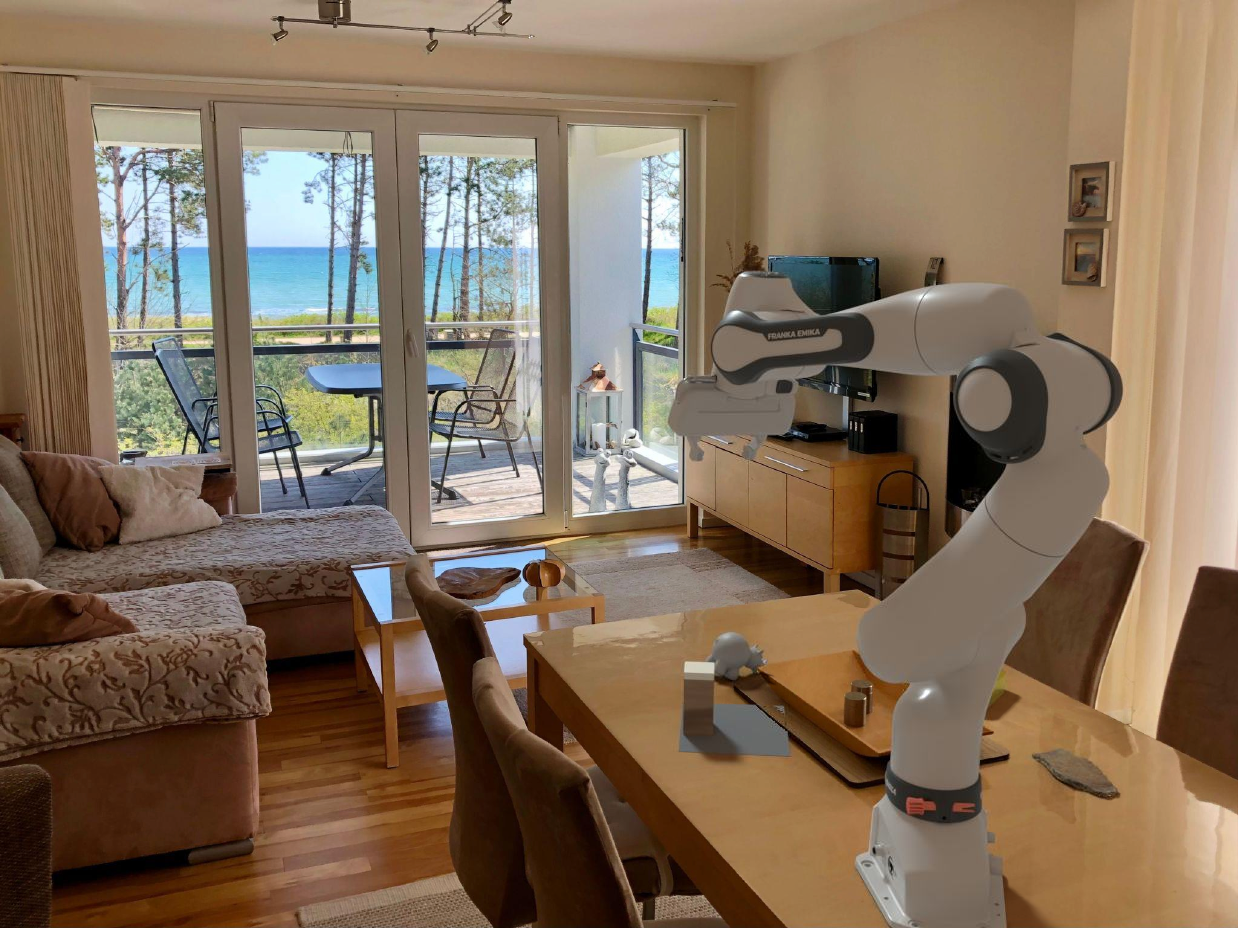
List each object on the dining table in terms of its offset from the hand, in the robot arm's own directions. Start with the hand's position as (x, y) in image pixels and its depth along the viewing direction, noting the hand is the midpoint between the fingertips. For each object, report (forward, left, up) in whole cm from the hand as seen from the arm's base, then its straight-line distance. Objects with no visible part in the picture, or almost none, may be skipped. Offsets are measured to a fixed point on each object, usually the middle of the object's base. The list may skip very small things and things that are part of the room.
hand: (721, 459), depth 170 cm
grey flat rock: (-2, -56, -49) cm, 75 cm away
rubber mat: (+9, -3, -49) cm, 49 cm away
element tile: (+30, -44, -49) cm, 72 cm away
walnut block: (+8, +3, -48) cm, 49 cm away
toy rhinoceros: (+34, -4, -49) cm, 60 cm away
